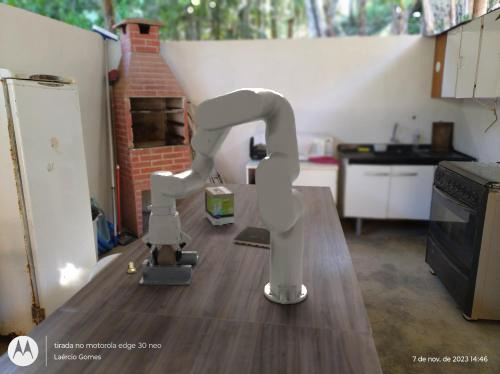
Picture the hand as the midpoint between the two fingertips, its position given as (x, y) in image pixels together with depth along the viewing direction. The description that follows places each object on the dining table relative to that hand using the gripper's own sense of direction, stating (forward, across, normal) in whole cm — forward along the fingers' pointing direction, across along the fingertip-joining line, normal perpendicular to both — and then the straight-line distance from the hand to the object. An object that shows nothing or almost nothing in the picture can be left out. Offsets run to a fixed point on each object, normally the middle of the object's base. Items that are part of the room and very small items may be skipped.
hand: (167, 260), depth 126 cm
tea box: (+4, +12, +52) cm, 53 cm away
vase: (+3, 0, 0) cm, 3 cm away
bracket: (+4, +2, 0) cm, 4 cm away
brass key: (+4, -13, +1) cm, 13 cm away
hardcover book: (+4, +34, +28) cm, 44 cm away
